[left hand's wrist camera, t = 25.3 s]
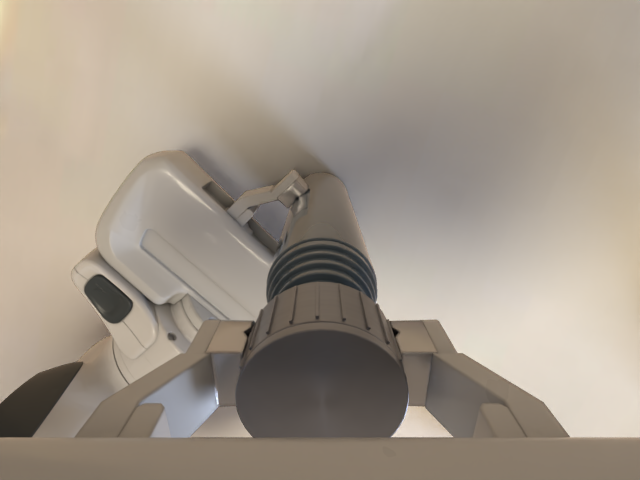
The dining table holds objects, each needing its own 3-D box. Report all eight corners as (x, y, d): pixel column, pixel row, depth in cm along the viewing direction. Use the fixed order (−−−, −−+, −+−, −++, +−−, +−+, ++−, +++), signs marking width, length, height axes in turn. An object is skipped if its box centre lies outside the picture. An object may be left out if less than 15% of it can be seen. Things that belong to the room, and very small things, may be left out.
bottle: (288, 179, 27) (214, 326, 8) (342, 166, 27) (391, 290, 8) (302, 229, 29) (265, 452, 10) (353, 218, 28) (416, 426, 10)
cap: (265, 264, 9) (249, 309, 7) (412, 297, 10) (438, 349, 8) (239, 382, 11) (220, 449, 9) (368, 407, 11) (380, 477, 9)
